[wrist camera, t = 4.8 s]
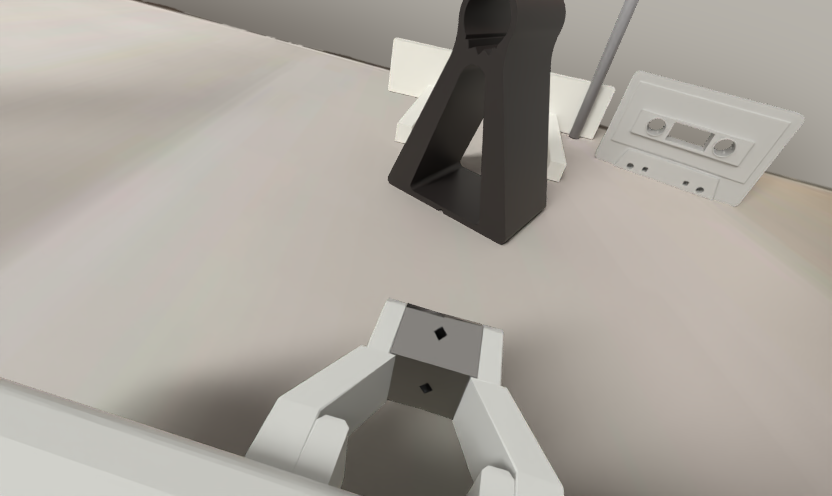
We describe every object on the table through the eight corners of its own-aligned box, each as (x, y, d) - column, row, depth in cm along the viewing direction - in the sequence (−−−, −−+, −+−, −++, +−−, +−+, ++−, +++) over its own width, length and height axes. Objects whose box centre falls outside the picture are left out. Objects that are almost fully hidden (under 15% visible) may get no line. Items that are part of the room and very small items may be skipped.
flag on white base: (619, 142, 40) (750, -117, 28) (653, 205, 30) (890, -170, 17) (391, 87, 42) (421, -175, 30) (344, 128, 32) (363, -254, 20)
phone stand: (386, 182, 26) (414, -38, 19) (438, 160, 30) (478, -28, 23) (502, 246, 22) (595, 3, 15) (544, 211, 26) (632, 6, 19)
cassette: (592, 159, 35) (634, 71, 31) (595, 153, 37) (636, 68, 32) (737, 210, 32) (810, 118, 27) (735, 202, 33) (804, 113, 28)
